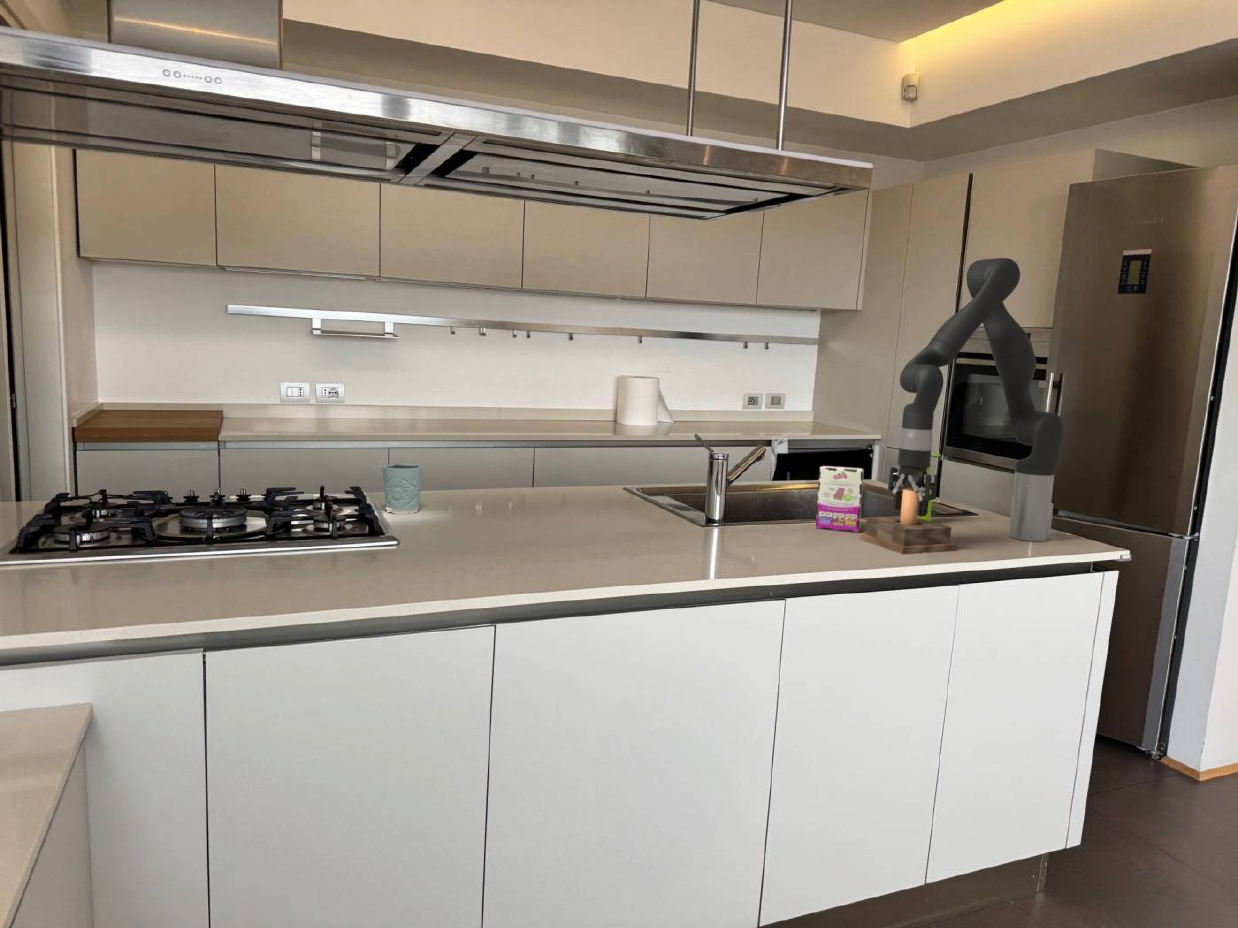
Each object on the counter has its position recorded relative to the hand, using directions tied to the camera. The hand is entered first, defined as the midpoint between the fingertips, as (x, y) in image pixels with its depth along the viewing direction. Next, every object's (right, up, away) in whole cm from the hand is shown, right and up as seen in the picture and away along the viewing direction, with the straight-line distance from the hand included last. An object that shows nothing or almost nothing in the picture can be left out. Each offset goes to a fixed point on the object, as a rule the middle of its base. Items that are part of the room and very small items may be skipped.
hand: (909, 512), depth 216 cm
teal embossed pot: (-128, -1, +15) cm, 129 cm away
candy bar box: (-14, -5, +16) cm, 22 cm away
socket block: (0, -8, +1) cm, 8 cm away
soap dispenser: (+13, -5, +29) cm, 32 cm away
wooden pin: (0, -6, +1) cm, 7 cm away
